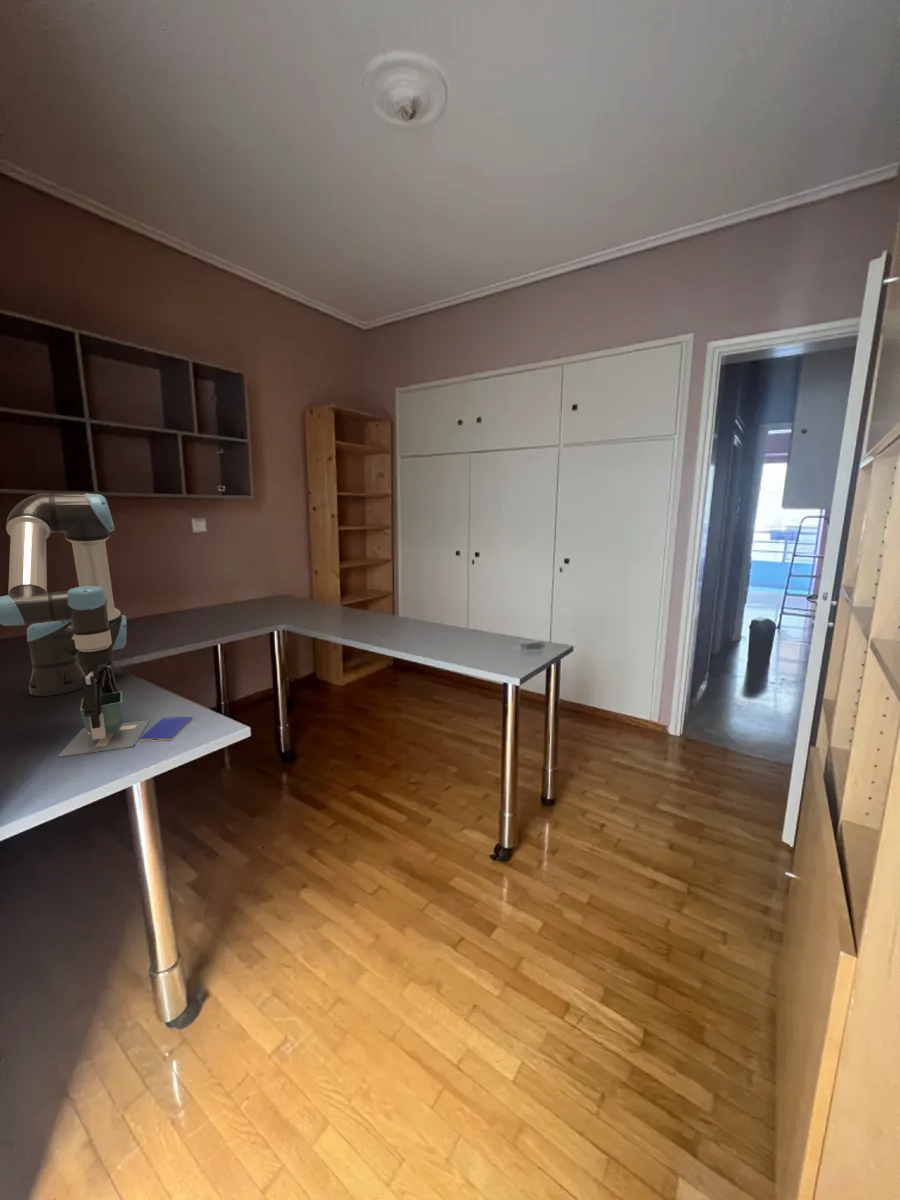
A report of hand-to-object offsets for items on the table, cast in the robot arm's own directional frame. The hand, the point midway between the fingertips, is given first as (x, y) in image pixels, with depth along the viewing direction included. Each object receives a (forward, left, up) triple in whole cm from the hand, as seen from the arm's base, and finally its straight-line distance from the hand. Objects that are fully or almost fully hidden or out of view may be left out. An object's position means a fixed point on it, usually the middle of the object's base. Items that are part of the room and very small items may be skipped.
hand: (106, 729), depth 128 cm
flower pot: (0, 0, -1) cm, 1 cm away
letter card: (0, 0, -2) cm, 2 cm away
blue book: (0, +14, -3) cm, 14 cm away
